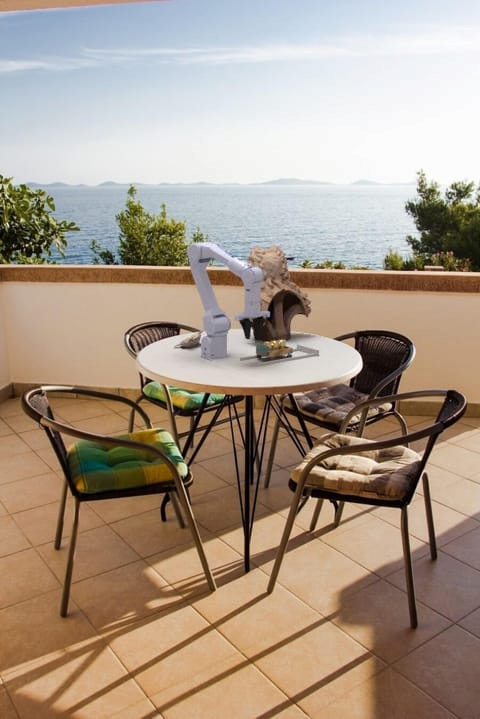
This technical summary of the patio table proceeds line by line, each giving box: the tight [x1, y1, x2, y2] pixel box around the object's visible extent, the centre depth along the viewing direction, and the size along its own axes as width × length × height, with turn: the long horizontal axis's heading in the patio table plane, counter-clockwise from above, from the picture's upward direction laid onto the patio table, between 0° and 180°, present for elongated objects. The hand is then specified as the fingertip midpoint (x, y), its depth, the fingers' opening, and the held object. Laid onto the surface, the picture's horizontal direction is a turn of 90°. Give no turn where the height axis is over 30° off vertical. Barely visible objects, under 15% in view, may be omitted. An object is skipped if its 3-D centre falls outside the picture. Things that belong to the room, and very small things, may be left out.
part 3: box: [278, 339, 287, 350], centre depth 250 cm, size 3×3×4 cm
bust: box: [247, 244, 312, 342], centre depth 281 cm, size 34×18×40 cm, turn 130°
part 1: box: [263, 341, 272, 352], centre depth 246 cm, size 3×3×4 cm
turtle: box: [174, 329, 205, 348], centre depth 272 cm, size 16×10×10 cm, turn 1°
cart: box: [255, 342, 294, 361], centre depth 249 cm, size 12×9×6 cm
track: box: [239, 343, 320, 367], centre depth 251 cm, size 29×12×3 cm, turn 126°
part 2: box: [271, 340, 279, 351], centre depth 248 cm, size 3×3×4 cm
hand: (252, 338), depth 241 cm, fingers open, 3 cm apart
